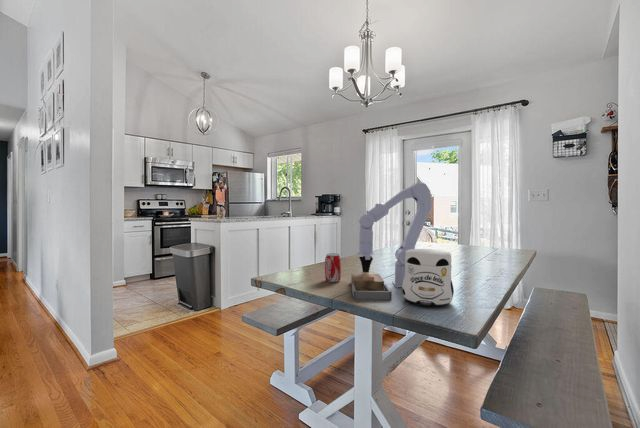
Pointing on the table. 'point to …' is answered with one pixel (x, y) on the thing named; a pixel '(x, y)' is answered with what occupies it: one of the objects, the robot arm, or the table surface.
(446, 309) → the table surface
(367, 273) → the cream tile
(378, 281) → the brown block
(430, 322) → the table surface
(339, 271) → the soda can
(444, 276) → the milk container
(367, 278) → the terracotta tile
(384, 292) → the tray
